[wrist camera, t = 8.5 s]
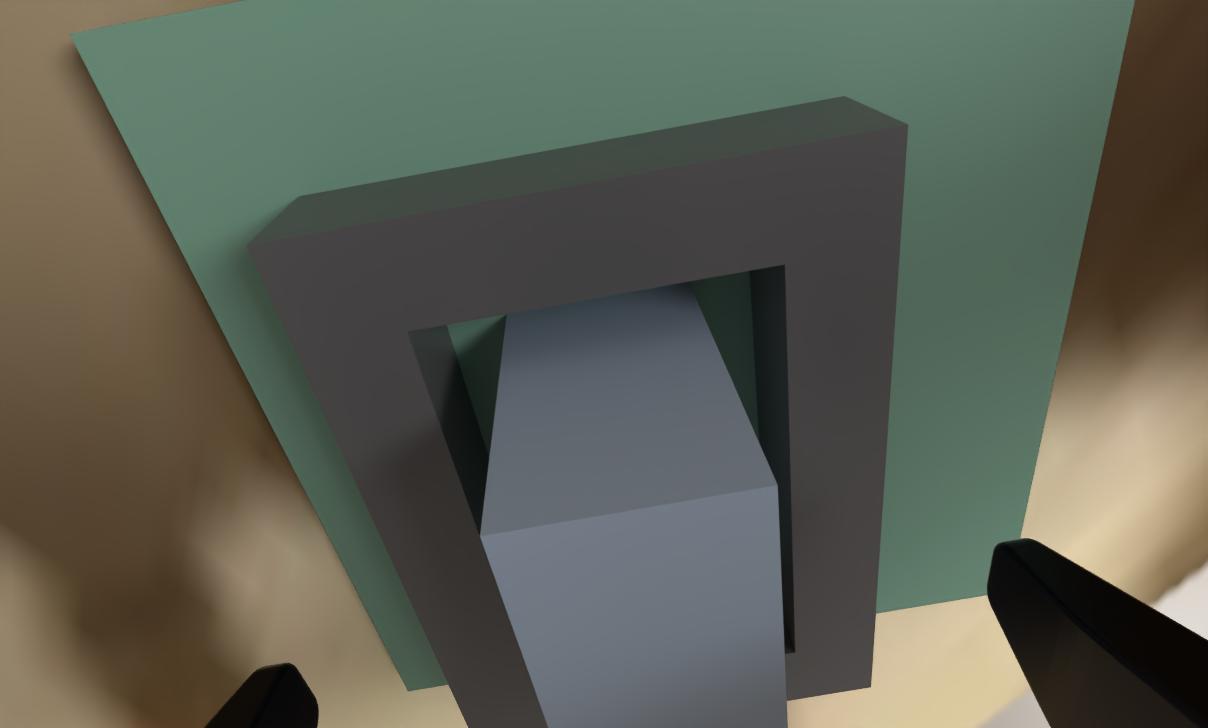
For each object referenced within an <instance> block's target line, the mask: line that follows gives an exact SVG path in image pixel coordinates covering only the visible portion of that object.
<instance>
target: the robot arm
mask: <svg viewBox="0 0 1208 728" xmlns="http://www.w3.org/2000/svg"><path fill="white" fill-rule="evenodd" d="M987 595H988V599H989V602H990V605H991V607H992V609H993V611H994V613H995V615H996V618H997V620H998V622H999V624H1000V626H1001V628H1002V630H1003V632H1004V634H1005V636H1006V638H1007V640H1008V642H1009V644H1010V646H1011V648H1012V650H1013V653H1014V655H1015V657H1016V659H1017V661H1018V663H1019V665H1020V667H1021V669H1022V671H1023V673H1024V675H1025V677H1026V679H1027V681H1028V683H1029V685H1030V687H1031V690H1032V692H1033V694H1034V696H1035V698H1036V700H1037V702H1038V704H1039V706H1040V708H1041V710H1042V712H1043V714H1044V715H1045V717H1046V719H1047V721H1048V723H1049V725H1050V727H1051V728H1208V640H1207V639H1205V638H1203V637H1201V636H1200V635H1198V634H1196V633H1195V632H1193V631H1191V630H1189V629H1187V628H1186V627H1184V626H1182V625H1181V624H1179V623H1177V622H1176V621H1174V620H1172V619H1170V618H1169V617H1167V616H1165V615H1164V614H1162V613H1160V612H1158V611H1157V610H1155V609H1153V608H1152V607H1150V606H1148V605H1146V604H1145V603H1143V602H1141V601H1140V600H1138V599H1136V598H1134V597H1133V596H1131V595H1129V594H1128V593H1126V592H1124V591H1122V590H1121V589H1119V588H1117V587H1116V586H1114V585H1112V584H1110V583H1109V582H1107V581H1105V580H1103V579H1102V578H1100V577H1098V576H1097V575H1095V574H1093V573H1091V572H1090V571H1088V570H1086V569H1085V568H1083V567H1081V566H1079V565H1078V564H1076V563H1074V562H1073V561H1071V560H1069V559H1067V558H1066V557H1064V556H1062V555H1061V554H1059V553H1057V552H1055V551H1054V550H1052V549H1050V548H1048V547H1047V546H1045V545H1043V544H1042V543H1040V542H1038V541H1036V540H1033V539H1029V538H1023V539H1017V540H1011V541H1005V542H1001V543H998V544H997V545H996V546H995V548H994V550H993V555H992V560H991V565H990V571H989V576H988V582H987ZM318 717H319V710H318V704H317V700H316V698H315V696H314V694H313V693H312V691H311V690H310V688H309V687H308V685H307V683H306V682H305V680H304V679H303V677H302V676H301V674H300V672H299V671H298V669H297V668H296V667H295V666H294V665H293V664H290V663H282V664H276V665H270V666H265V667H261V668H259V669H257V670H256V671H255V672H254V673H253V674H252V675H251V676H250V677H249V678H248V679H247V680H246V681H245V682H244V683H243V685H242V686H241V687H240V688H239V689H238V690H237V691H236V692H235V693H234V695H233V696H232V697H231V698H230V699H229V700H228V701H227V702H226V704H225V705H224V706H223V707H222V708H221V709H220V710H219V711H218V713H217V714H216V715H215V716H214V717H213V718H212V719H211V720H210V722H209V723H208V724H207V725H206V726H205V727H204V728H317V726H318Z"/></svg>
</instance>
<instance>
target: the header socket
mask: <svg viewBox="0 0 1208 728" xmlns="http://www.w3.org/2000/svg"><path fill="white" fill-rule="evenodd" d="M907 137H908V124H906V123H904V122H902V121H899V120H897V119H895V118H893V117H891V116H888V115H886V114H884V113H882V112H879V111H877V110H875V109H873V108H871V107H868V106H866V105H864V104H862V103H859V102H857V101H855V100H853V99H851V98H848V97H846V96H841V97H836V98H831V99H825V100H820V101H814V102H809V103H803V104H798V105H792V106H787V107H782V108H776V109H771V110H765V111H760V112H754V113H749V114H744V115H738V116H733V117H727V118H722V119H716V120H711V121H706V122H700V123H695V124H689V125H684V126H678V127H673V128H667V129H662V130H657V131H651V132H646V133H640V134H635V135H629V136H624V137H619V138H613V139H608V140H602V141H597V142H591V143H586V144H580V145H575V146H570V147H564V148H559V149H553V150H548V151H542V152H537V153H532V154H526V155H521V156H515V157H510V158H504V159H499V160H494V161H488V162H483V163H477V164H472V165H466V166H461V167H455V168H450V169H445V170H439V171H434V172H428V173H423V174H417V175H412V176H407V177H401V178H396V179H390V180H385V181H379V182H374V183H368V184H363V185H358V186H352V187H347V188H341V189H336V190H330V191H325V192H320V193H314V194H309V195H303V196H299V197H298V198H297V199H295V200H294V201H293V202H292V203H291V204H290V205H289V206H288V207H287V208H286V209H285V210H284V211H283V212H282V213H280V214H279V215H278V216H277V217H276V218H275V219H274V220H273V221H272V222H271V223H270V224H269V225H268V226H267V227H265V228H264V229H263V230H262V231H261V232H260V233H259V234H258V235H257V236H256V237H255V238H254V239H253V240H252V241H250V242H249V243H248V244H247V245H246V246H247V248H248V250H249V252H250V255H251V257H252V259H253V261H254V263H255V265H256V268H257V270H258V272H259V274H260V276H261V278H262V281H263V283H264V285H265V287H266V289H267V292H268V294H269V296H270V298H271V300H272V302H273V305H274V307H275V309H276V311H277V313H278V315H279V318H280V320H281V322H282V324H283V326H284V328H285V331H286V333H287V335H288V337H289V339H290V341H291V344H292V346H293V348H294V350H295V352H296V354H297V357H298V359H299V361H300V363H301V365H302V367H303V370H304V372H305V374H306V376H307V378H308V381H309V383H310V385H311V387H312V389H313V391H314V394H315V396H316V398H317V400H318V402H319V404H320V407H321V409H322V411H323V413H324V415H325V417H326V420H327V422H328V424H329V426H330V428H331V430H332V433H333V435H334V437H335V439H336V441H337V443H338V446H339V448H340V450H341V452H342V454H343V456H344V459H345V461H346V463H347V465H348V467H349V469H350V472H351V474H352V476H353V478H354V480H355V483H356V485H357V487H358V489H359V491H360V493H361V496H362V498H363V500H364V502H365V504H366V506H367V509H368V511H369V513H370V515H371V517H372V519H373V522H374V524H375V526H376V528H377V530H378V532H379V535H380V537H381V539H382V541H383V543H384V545H385V548H386V550H387V552H388V554H389V556H390V558H391V561H392V563H393V565H394V567H395V569H396V572H397V574H398V576H399V578H400V580H401V582H402V585H403V587H404V589H405V591H406V593H407V595H408V598H409V600H410V602H411V604H412V606H413V608H414V611H415V613H416V615H417V617H418V619H419V621H420V624H421V626H422V628H423V630H424V632H425V634H426V637H427V639H428V641H429V643H430V645H431V647H432V650H433V652H434V654H435V656H436V658H437V660H438V663H439V665H440V667H441V669H442V671H443V674H444V676H445V678H446V680H447V682H448V684H449V687H450V689H451V691H452V693H453V695H454V697H455V700H456V702H457V704H458V706H459V708H460V710H461V713H462V715H463V717H464V719H465V721H466V723H467V726H468V728H548V725H547V723H546V720H545V717H544V714H543V711H542V709H541V706H540V703H539V700H538V698H537V695H536V692H535V689H534V686H533V684H532V681H531V678H530V675H529V672H528V670H527V667H526V664H525V661H524V658H523V656H522V653H521V650H520V647H519V644H518V642H517V639H516V636H515V633H514V630H513V628H512V625H511V622H510V619H509V616H508V614H507V611H506V608H505V605H504V602H503V600H502V597H501V594H500V591H499V588H498V586H497V583H496V580H495V577H494V574H493V572H492V569H491V566H490V563H489V560H488V558H487V555H486V552H485V549H484V546H483V544H482V541H481V538H480V532H481V524H482V515H483V507H484V499H485V490H486V482H487V474H488V466H489V456H488V453H487V449H486V446H485V443H484V440H483V437H482V434H481V431H480V427H479V424H478V421H477V418H476V415H475V412H474V409H473V406H472V402H471V399H470V396H469V393H468V390H467V387H466V384H465V381H464V377H463V374H462V371H461V368H460V365H459V362H458V359H457V356H456V352H455V349H454V346H453V343H452V340H451V337H450V334H449V330H448V327H447V325H449V324H454V323H460V322H465V321H471V320H477V319H482V318H488V317H493V316H499V315H505V314H510V313H516V312H521V311H527V310H533V309H538V308H544V307H549V306H555V305H561V304H566V303H572V302H577V301H583V300H589V299H594V298H600V297H605V296H611V295H617V294H622V293H628V292H633V291H639V290H645V289H650V288H656V287H662V286H667V285H673V284H678V283H684V282H690V281H695V280H701V279H706V278H712V277H718V276H723V275H729V274H734V273H740V272H746V271H750V288H751V306H752V323H753V341H754V359H755V377H756V395H757V413H758V431H759V444H760V446H761V448H762V451H763V453H764V455H765V457H766V460H767V462H768V464H769V467H770V469H771V471H772V473H773V476H774V478H775V480H776V483H777V485H778V505H779V529H780V553H781V578H782V602H783V626H784V650H785V674H786V699H787V701H789V700H795V699H801V698H807V697H814V696H820V695H826V694H832V693H838V692H844V691H850V690H856V689H862V688H869V687H871V677H872V662H873V647H874V632H875V617H876V602H877V587H878V572H879V557H880V542H881V527H882V512H883V497H884V482H885V467H886V452H887V437H888V422H889V407H890V392H891V377H892V362H893V347H894V332H895V317H896V302H897V287H898V272H899V257H900V242H901V227H902V212H903V197H904V182H905V167H906V152H907Z"/></svg>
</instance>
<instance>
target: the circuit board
mask: <svg viewBox="0 0 1208 728" xmlns="http://www.w3.org/2000/svg"><path fill="white" fill-rule="evenodd" d="M1134 2H1135V0H244V1H239V2H234V3H229V4H223V5H218V6H213V7H208V8H203V9H197V10H192V11H187V12H182V13H176V14H171V15H166V16H161V17H155V18H150V19H145V20H140V21H135V22H129V23H124V24H119V25H114V26H108V27H103V28H98V29H93V30H87V31H82V32H77V33H72V34H70V36H71V38H72V40H73V42H74V44H75V46H76V48H77V50H78V52H79V54H80V56H81V58H82V60H83V62H84V63H85V65H86V67H87V69H88V71H89V73H90V75H91V77H92V79H93V81H94V83H95V85H96V87H97V89H98V91H99V93H100V94H101V96H102V98H103V100H104V102H105V104H106V106H107V108H108V110H109V112H110V114H111V116H112V118H113V120H114V122H115V124H116V126H117V127H118V129H119V131H120V133H121V135H122V137H123V139H124V141H125V143H126V145H127V147H128V149H129V151H130V153H131V155H132V157H133V159H134V160H135V162H136V164H137V166H138V168H139V170H140V172H141V174H142V176H143V178H144V180H145V182H146V184H147V186H148V188H149V190H150V191H151V193H152V195H153V197H154V199H155V201H156V203H157V205H158V207H159V209H160V211H161V213H162V215H163V217H164V219H165V221H166V223H167V224H168V226H169V228H170V230H171V232H172V234H173V236H174V238H175V240H176V242H177V244H178V246H179V248H180V250H181V252H182V254H183V255H184V257H185V259H186V261H187V263H188V265H189V267H190V269H191V271H192V273H193V275H194V277H195V279H196V281H197V283H198V285H199V287H200V288H201V290H202V292H203V294H204V296H205V298H206V300H207V302H208V304H209V306H210V308H211V310H212V312H213V314H214V316H215V318H216V320H217V321H218V323H219V325H220V327H221V329H222V331H223V333H224V335H225V337H226V339H227V341H228V343H229V345H230V347H231V349H232V351H233V352H234V354H235V356H236V358H237V360H238V362H239V364H240V366H241V368H242V370H243V372H244V374H245V376H246V378H247V380H248V382H249V384H250V385H251V387H252V389H253V391H254V393H255V395H256V397H257V399H258V401H259V403H260V405H261V407H262V409H263V411H264V413H265V415H266V416H267V418H268V420H269V422H270V424H271V426H272V428H273V430H274V432H275V434H276V436H277V438H278V440H279V442H280V444H281V446H282V448H283V449H284V451H285V453H286V455H287V457H288V459H289V461H290V463H291V465H292V467H293V469H294V471H295V473H296V475H297V477H298V479H299V481H300V482H301V484H302V486H303V488H304V490H305V492H306V494H307V496H308V498H309V500H310V502H311V504H312V506H313V508H314V510H315V512H316V513H317V515H318V517H319V519H320V521H321V523H322V525H323V527H324V529H325V531H326V533H327V535H328V537H329V539H330V541H331V543H332V545H333V546H334V548H335V550H336V552H337V554H338V556H339V558H340V560H341V562H342V564H343V566H344V568H345V570H346V572H347V574H348V576H349V577H350V579H351V581H352V583H353V585H354V587H355V589H356V591H357V593H358V595H359V597H360V599H361V601H362V603H363V605H364V607H365V609H366V610H367V612H368V614H369V616H370V618H371V620H372V622H373V624H374V626H375V628H376V630H377V632H378V634H379V636H380V638H381V640H382V642H383V643H384V645H385V647H386V649H387V651H388V653H389V655H390V657H391V659H392V661H393V663H394V665H395V667H396V669H397V671H398V673H399V674H400V676H401V678H402V680H403V682H404V684H405V686H406V688H407V690H408V691H412V690H418V689H424V688H430V687H436V686H442V685H448V682H447V680H446V678H445V676H444V674H443V671H442V669H441V667H440V665H439V663H438V660H437V658H436V656H435V654H434V652H433V650H432V647H431V645H430V643H429V641H428V639H427V637H426V634H425V632H424V630H423V628H422V626H421V624H420V621H419V619H418V617H417V615H416V613H415V611H414V608H413V606H412V604H411V602H410V600H409V598H408V595H407V593H406V591H405V589H404V587H403V585H402V582H401V580H400V578H399V576H398V574H397V572H396V569H395V567H394V565H393V563H392V561H391V558H390V556H389V554H388V552H387V550H386V548H385V545H384V543H383V541H382V539H381V537H380V535H379V532H378V530H377V528H376V526H375V524H374V522H373V519H372V517H371V515H370V513H369V511H368V509H367V506H366V504H365V502H364V500H363V498H362V496H361V493H360V491H359V489H358V487H357V485H356V483H355V480H354V478H353V476H352V474H351V472H350V469H349V467H348V465H347V463H346V461H345V459H344V456H343V454H342V452H341V450H340V448H339V446H338V443H337V441H336V439H335V437H334V435H333V433H332V430H331V428H330V426H329V424H328V422H327V420H326V417H325V415H324V413H323V411H322V409H321V407H320V404H319V402H318V400H317V398H316V396H315V394H314V391H313V389H312V387H311V385H310V383H309V381H308V378H307V376H306V374H305V372H304V370H303V367H302V365H301V363H300V361H299V359H298V357H297V354H296V352H295V350H294V348H293V346H292V344H291V341H290V339H289V337H288V335H287V333H286V331H285V328H284V326H283V324H282V322H281V320H280V318H279V315H278V313H277V311H276V309H275V307H274V305H273V302H272V300H271V298H270V296H269V294H268V292H267V289H266V287H265V285H264V283H263V281H262V278H261V276H260V274H259V272H258V270H257V268H256V265H255V263H254V261H253V259H252V257H251V255H250V252H249V250H248V248H247V246H246V245H247V244H248V243H249V242H250V241H252V240H253V239H254V238H255V237H256V236H257V235H258V234H259V233H260V232H261V231H262V230H263V229H264V228H265V227H267V226H268V225H269V224H270V223H271V222H272V221H273V220H274V219H275V218H276V217H277V216H278V215H279V214H280V213H282V212H283V211H284V210H285V209H286V208H287V207H288V206H289V205H290V204H291V203H292V202H293V201H294V200H295V199H297V198H298V197H299V196H303V195H309V194H314V193H320V192H325V191H330V190H336V189H341V188H347V187H352V186H358V185H363V184H368V183H374V182H379V181H385V180H390V179H396V178H401V177H407V176H412V175H417V174H423V173H428V172H434V171H439V170H445V169H450V168H455V167H461V166H466V165H472V164H477V163H483V162H488V161H494V160H499V159H504V158H510V157H515V156H521V155H526V154H532V153H537V152H542V151H548V150H553V149H559V148H564V147H570V146H575V145H580V144H586V143H591V142H597V141H602V140H608V139H613V138H619V137H624V136H629V135H635V134H640V133H646V132H651V131H657V130H662V129H667V128H673V127H678V126H684V125H689V124H695V123H700V122H706V121H711V120H716V119H722V118H727V117H733V116H738V115H744V114H749V113H754V112H760V111H765V110H771V109H776V108H782V107H787V106H792V105H798V104H803V103H809V102H814V101H820V100H825V99H831V98H836V97H841V96H846V97H848V98H851V99H853V100H855V101H857V102H859V103H862V104H864V105H866V106H868V107H871V108H873V109H875V110H877V111H879V112H882V113H884V114H886V115H888V116H891V117H893V118H895V119H897V120H899V121H902V122H904V123H906V124H908V137H907V152H906V167H905V182H904V197H903V212H902V227H901V242H900V257H899V272H898V287H897V302H896V317H895V332H894V347H893V362H892V377H891V392H890V407H889V422H888V437H887V452H886V467H885V482H884V497H883V512H882V527H881V542H880V557H879V572H878V587H877V602H876V613H882V612H888V611H894V610H900V609H906V608H912V607H918V606H924V605H930V604H936V603H942V602H948V601H954V600H960V599H966V598H972V597H978V596H984V595H987V582H988V576H989V571H990V565H991V560H992V555H993V550H994V548H995V546H996V545H997V544H998V543H1001V542H1005V541H1011V540H1017V539H1020V536H1021V531H1022V526H1023V522H1024V517H1025V512H1026V508H1027V503H1028V498H1029V494H1030V489H1031V484H1032V480H1033V475H1034V470H1035V466H1036V461H1037V456H1038V452H1039V447H1040V442H1041V438H1042V433H1043V428H1044V424H1045V419H1046V414H1047V409H1048V405H1049V400H1050V395H1051V391H1052V386H1053V381H1054V377H1055V372H1056V367H1057V363H1058V358H1059V353H1060V349H1061V344H1062V339H1063V335H1064V330H1065V325H1066V321H1067V316H1068V311H1069V307H1070V302H1071V297H1072V292H1073V288H1074V283H1075V278H1076V274H1077V269H1078V264H1079V260H1080V255H1081V250H1082V246H1083V241H1084V236H1085V232H1086V227H1087V222H1088V218H1089V213H1090V208H1091V204H1092V199H1093V194H1094V190H1095V185H1096V180H1097V175H1098V171H1099V166H1100V161H1101V157H1102V152H1103V147H1104V143H1105V138H1106V133H1107V129H1108V124H1109V119H1110V115H1111V110H1112V105H1113V101H1114V96H1115V91H1116V87H1117V82H1118V77H1119V73H1120V68H1121V63H1122V58H1123V54H1124V49H1125V44H1126V40H1127V35H1128V30H1129V26H1130V21H1131V16H1132V12H1133V7H1134ZM689 284H690V286H691V288H692V290H693V293H694V295H695V297H696V300H697V302H698V304H699V306H700V309H701V311H702V313H703V316H704V318H705V320H706V322H707V325H708V327H709V329H710V332H711V334H712V336H713V338H714V341H715V343H716V345H717V348H718V350H719V352H720V354H721V357H722V359H723V361H724V364H725V366H726V368H727V370H728V373H729V375H730V377H731V380H732V382H733V384H734V387H735V389H736V391H737V393H738V396H739V398H740V400H741V403H742V405H743V407H744V409H745V412H746V414H747V416H748V419H749V421H750V423H751V425H752V428H753V430H754V432H755V435H756V437H757V439H758V441H759V431H758V413H757V395H756V377H755V359H754V341H753V323H752V306H751V288H750V271H746V272H740V273H734V274H729V275H723V276H718V277H712V278H706V279H701V280H695V281H690V282H689ZM506 317H507V314H505V315H499V316H493V317H488V318H482V319H477V320H471V321H465V322H460V323H454V324H449V325H447V327H448V330H449V334H450V337H451V340H452V343H453V346H454V349H455V352H456V356H457V359H458V362H459V365H460V368H461V371H462V374H463V377H464V381H465V384H466V387H467V390H468V393H469V396H470V399H471V402H472V406H473V409H474V412H475V415H476V418H477V421H478V424H479V427H480V431H481V434H482V437H483V440H484V443H485V446H486V449H487V453H488V456H489V457H490V449H491V441H492V432H493V424H494V416H495V408H496V399H497V391H498V383H499V374H500V366H501V358H502V350H503V341H504V333H505V325H506Z"/></svg>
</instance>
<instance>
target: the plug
mask: <svg viewBox="0 0 1208 728" xmlns="http://www.w3.org/2000/svg"><path fill="white" fill-rule="evenodd" d="M480 538H481V541H482V544H483V546H484V549H485V552H486V555H487V558H488V560H489V563H490V566H491V569H492V572H493V574H494V577H495V580H496V583H497V586H498V588H499V591H500V594H501V597H502V600H503V602H504V605H505V608H506V611H507V614H508V616H509V619H510V622H511V625H512V628H513V630H514V633H515V636H516V639H517V642H518V644H519V647H520V650H521V653H522V656H523V658H524V661H525V664H526V667H527V670H528V672H529V675H530V678H531V681H532V684H533V686H534V689H535V692H536V695H537V698H538V700H539V703H540V706H541V709H542V711H543V714H544V717H545V720H546V723H547V725H548V728H788V723H787V699H786V674H785V650H784V626H783V602H782V578H781V553H780V529H779V505H778V485H777V483H776V480H775V478H774V476H773V473H772V471H771V469H770V467H769V464H768V462H767V460H766V457H765V455H764V453H763V451H762V448H761V446H760V444H759V441H758V439H757V437H756V435H755V432H754V430H753V428H752V425H751V423H750V421H749V419H748V416H747V414H746V412H745V409H744V407H743V405H742V403H741V400H740V398H739V396H738V393H737V391H736V389H735V387H734V384H733V382H732V380H731V377H730V375H729V373H728V370H727V368H726V366H725V364H724V361H723V359H722V357H721V354H720V352H719V350H718V348H717V345H716V343H715V341H714V338H713V336H712V334H711V332H710V329H709V327H708V325H707V322H706V320H705V318H704V316H703V313H702V311H701V309H700V306H699V304H698V302H697V300H696V297H695V295H694V293H693V290H692V288H691V286H690V284H689V282H684V283H678V284H673V285H667V286H662V287H656V288H650V289H645V290H639V291H633V292H628V293H622V294H617V295H611V296H605V297H600V298H594V299H589V300H583V301H577V302H572V303H566V304H561V305H555V306H549V307H544V308H538V309H533V310H527V311H521V312H516V313H510V314H507V317H506V325H505V333H504V341H503V350H502V358H501V366H500V374H499V383H498V391H497V399H496V408H495V416H494V424H493V432H492V441H491V449H490V457H489V466H488V474H487V482H486V490H485V499H484V507H483V515H482V524H481V532H480Z"/></svg>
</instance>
